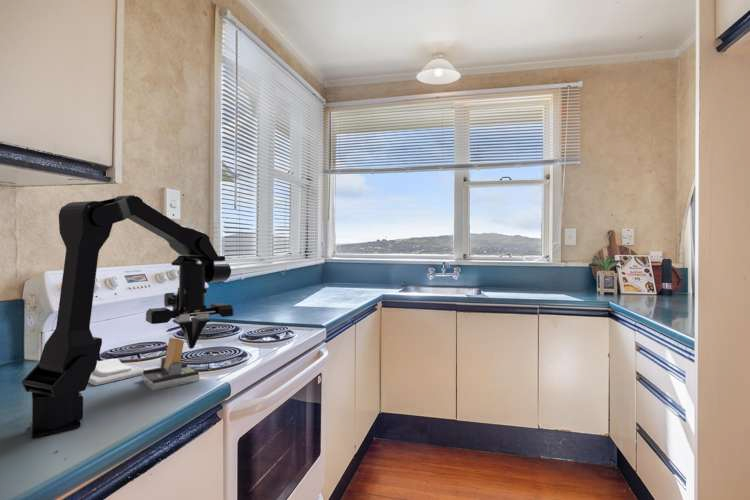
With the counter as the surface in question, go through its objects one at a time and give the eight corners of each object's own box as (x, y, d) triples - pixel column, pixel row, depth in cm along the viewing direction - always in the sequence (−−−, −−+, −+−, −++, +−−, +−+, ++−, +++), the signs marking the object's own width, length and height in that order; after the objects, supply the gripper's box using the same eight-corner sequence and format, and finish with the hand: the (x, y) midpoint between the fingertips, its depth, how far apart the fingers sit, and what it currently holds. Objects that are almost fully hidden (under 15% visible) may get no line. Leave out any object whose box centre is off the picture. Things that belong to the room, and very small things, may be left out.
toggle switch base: (151, 390, 86) (152, 369, 86) (141, 380, 93) (142, 360, 93) (199, 380, 93) (199, 360, 93) (186, 371, 100) (186, 352, 100)
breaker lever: (169, 375, 91) (176, 341, 91) (162, 369, 94) (169, 337, 95) (177, 374, 92) (184, 341, 93) (170, 369, 96) (177, 337, 96)
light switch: (123, 354, 105) (146, 359, 98) (123, 369, 105) (146, 376, 98) (74, 363, 96) (95, 370, 89) (74, 380, 96) (95, 388, 89)
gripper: (218, 280, 108) (217, 337, 108) (140, 283, 96) (139, 347, 96) (235, 283, 100) (234, 344, 100) (152, 286, 88) (151, 357, 88)
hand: (191, 348), depth 96 cm, fingers closed
